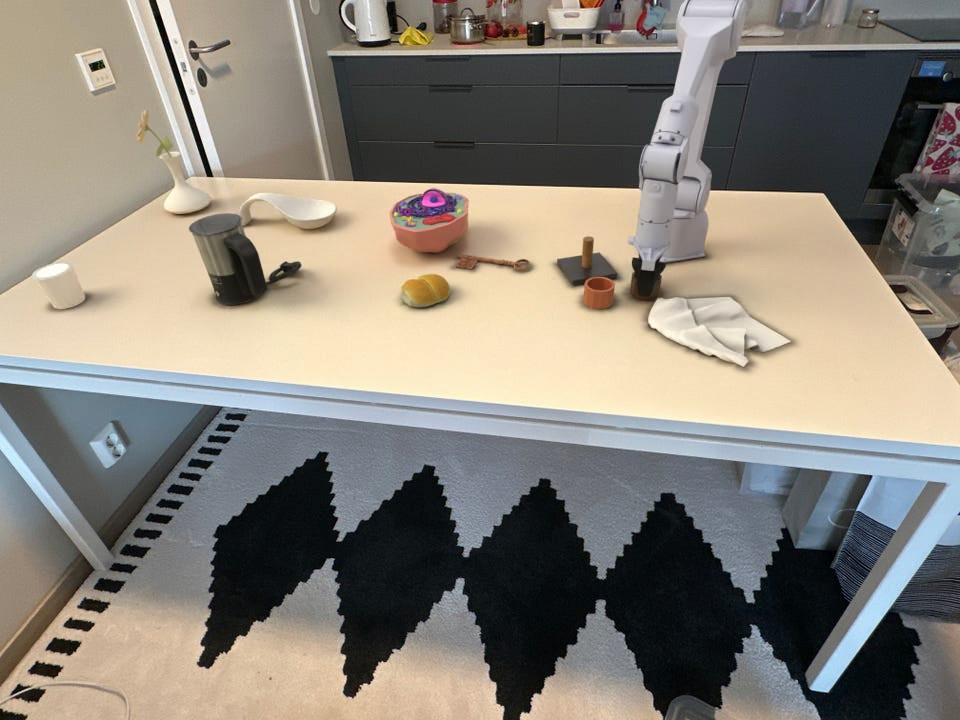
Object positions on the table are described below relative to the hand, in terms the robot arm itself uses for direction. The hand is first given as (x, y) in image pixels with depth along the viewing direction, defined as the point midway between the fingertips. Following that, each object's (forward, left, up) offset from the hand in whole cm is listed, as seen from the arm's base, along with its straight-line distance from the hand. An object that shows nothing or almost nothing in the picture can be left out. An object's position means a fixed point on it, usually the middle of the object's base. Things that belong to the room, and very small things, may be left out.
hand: (645, 286), depth 106 cm
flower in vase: (+91, -72, -2) cm, 116 cm away
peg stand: (+7, -11, -1) cm, 13 cm away
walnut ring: (0, 0, -1) cm, 1 cm away
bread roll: (+39, -11, -2) cm, 41 cm away
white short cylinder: (+107, -31, -2) cm, 111 cm away
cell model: (+34, -32, -2) cm, 47 cm away
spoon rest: (+65, -54, -2) cm, 85 cm away
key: (+24, -19, -1) cm, 31 cm away
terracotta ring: (+9, 0, -1) cm, 9 cm away
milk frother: (+70, -25, -2) cm, 74 cm away
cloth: (-6, +14, -2) cm, 15 cm away
